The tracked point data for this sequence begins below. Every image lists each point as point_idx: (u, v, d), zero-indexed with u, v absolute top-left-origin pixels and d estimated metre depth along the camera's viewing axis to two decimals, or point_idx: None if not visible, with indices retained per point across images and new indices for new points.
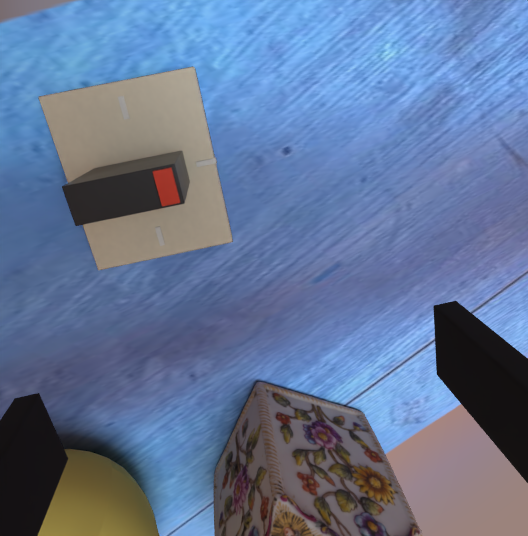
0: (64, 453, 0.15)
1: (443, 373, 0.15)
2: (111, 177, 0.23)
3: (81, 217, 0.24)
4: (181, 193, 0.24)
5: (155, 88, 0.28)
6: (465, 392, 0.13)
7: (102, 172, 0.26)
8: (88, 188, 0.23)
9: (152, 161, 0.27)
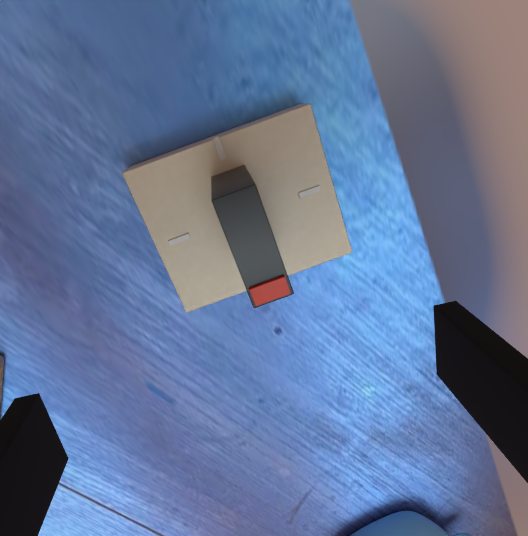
0: (64, 453, 0.15)
1: (443, 373, 0.15)
2: (272, 234, 0.21)
3: (222, 206, 0.21)
4: (264, 303, 0.23)
5: (330, 220, 0.29)
6: (465, 392, 0.13)
7: None
8: (257, 212, 0.21)
9: None
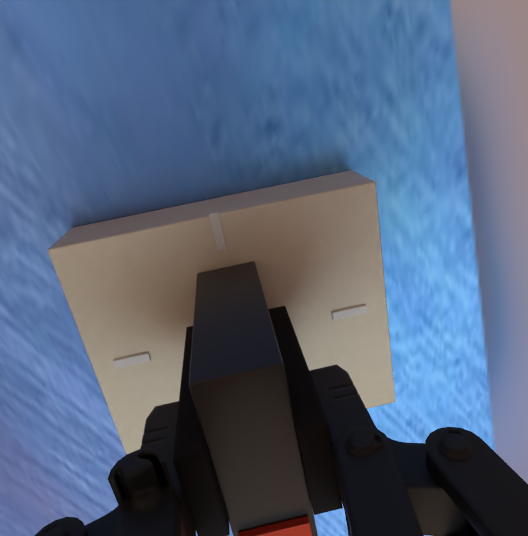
0: None
1: None
2: (298, 450, 0.11)
3: (210, 396, 0.10)
4: None
5: (371, 355, 0.19)
6: None
7: None
8: (277, 412, 0.10)
9: None
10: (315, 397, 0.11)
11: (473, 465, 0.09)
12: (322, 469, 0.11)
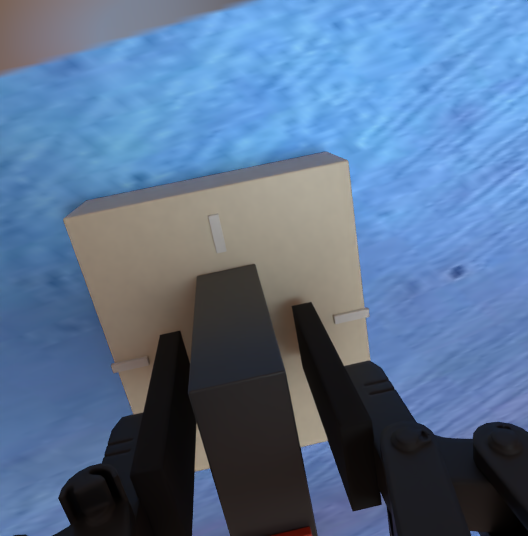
0: None
1: (303, 366, 0.17)
2: (300, 460, 0.11)
3: (210, 405, 0.10)
4: None
5: (276, 199, 0.16)
6: (310, 382, 0.15)
7: None
8: (278, 421, 0.10)
9: None
10: (354, 393, 0.11)
11: (523, 461, 0.09)
12: (363, 465, 0.11)
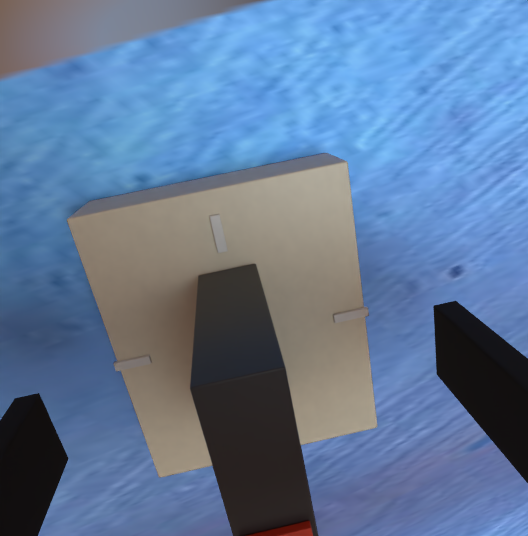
0: (64, 453, 0.15)
1: (443, 373, 0.15)
2: (300, 455, 0.11)
3: (211, 400, 0.10)
4: None
5: (277, 200, 0.16)
6: (465, 392, 0.13)
7: None
8: (279, 416, 0.10)
9: None
10: None
11: None
12: None
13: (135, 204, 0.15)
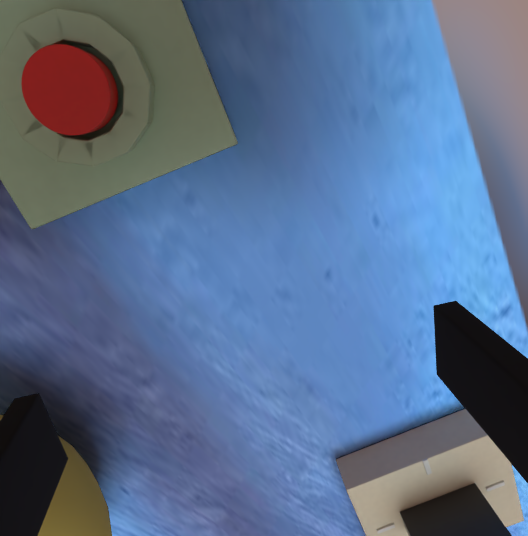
0: (64, 453, 0.15)
1: (443, 373, 0.15)
2: None
3: None
4: None
5: (508, 502, 0.34)
6: (465, 392, 0.13)
7: None
8: None
9: None
10: None
11: None
12: None
13: None
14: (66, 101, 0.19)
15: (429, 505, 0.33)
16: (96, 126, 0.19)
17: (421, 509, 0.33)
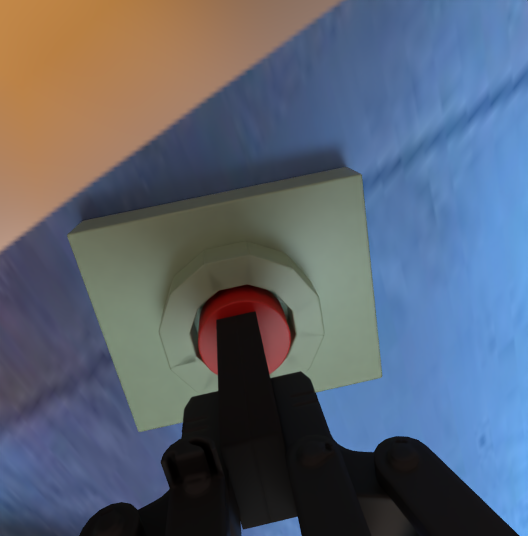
0: None
1: None
2: None
3: None
4: None
5: None
6: None
7: None
8: None
9: None
10: (272, 405, 0.11)
11: (420, 474, 0.09)
12: (277, 477, 0.11)
13: None
14: None
15: None
16: None
17: None
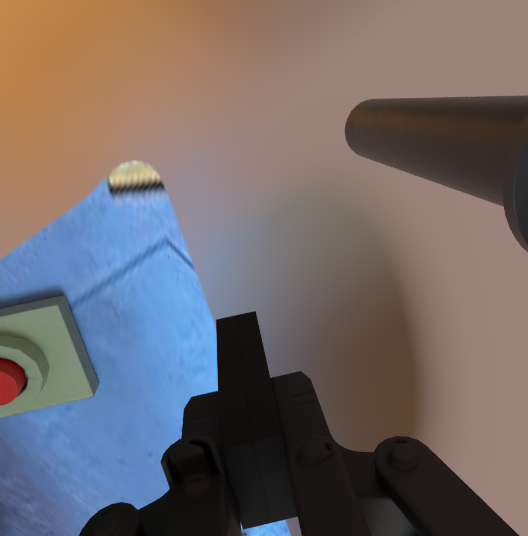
0: None
1: None
2: None
3: None
4: None
5: None
6: None
7: None
8: None
9: None
10: (272, 405, 0.11)
11: (420, 474, 0.09)
12: (277, 478, 0.11)
13: None
14: None
15: None
16: None
17: None
